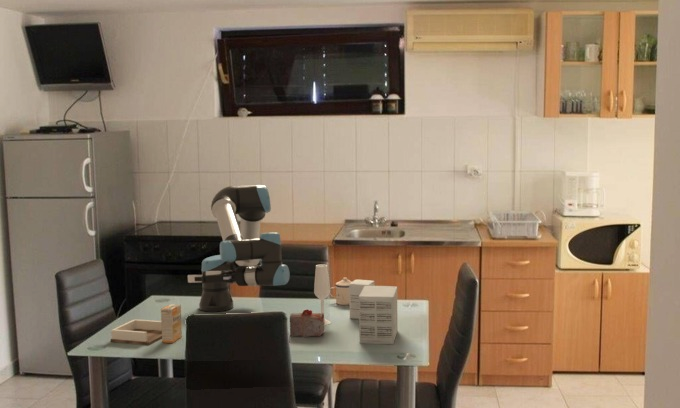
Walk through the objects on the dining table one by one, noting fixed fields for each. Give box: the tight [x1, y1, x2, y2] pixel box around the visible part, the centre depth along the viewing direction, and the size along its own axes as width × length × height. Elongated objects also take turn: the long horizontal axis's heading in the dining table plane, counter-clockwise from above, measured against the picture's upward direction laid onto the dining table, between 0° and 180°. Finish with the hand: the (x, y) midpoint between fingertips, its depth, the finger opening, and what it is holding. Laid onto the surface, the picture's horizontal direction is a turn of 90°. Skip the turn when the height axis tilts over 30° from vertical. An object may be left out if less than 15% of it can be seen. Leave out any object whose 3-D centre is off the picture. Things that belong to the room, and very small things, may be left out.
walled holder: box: [110, 318, 162, 346], centre depth 269 cm, size 17×16×4 cm
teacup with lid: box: [329, 277, 353, 306], centre depth 315 cm, size 12×9×12 cm
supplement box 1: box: [160, 303, 183, 344], centre depth 264 cm, size 8×5×13 cm, turn 168°
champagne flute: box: [313, 263, 331, 326], centre depth 283 cm, size 7×7×24 cm
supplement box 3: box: [358, 285, 398, 345], centre depth 263 cm, size 17×13×18 cm
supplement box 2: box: [348, 279, 376, 320], centre depth 292 cm, size 9×9×15 cm
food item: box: [289, 309, 326, 338], centre depth 268 cm, size 14×8×10 cm, turn 87°
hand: (197, 276), depth 262 cm, fingers open, 13 cm apart
